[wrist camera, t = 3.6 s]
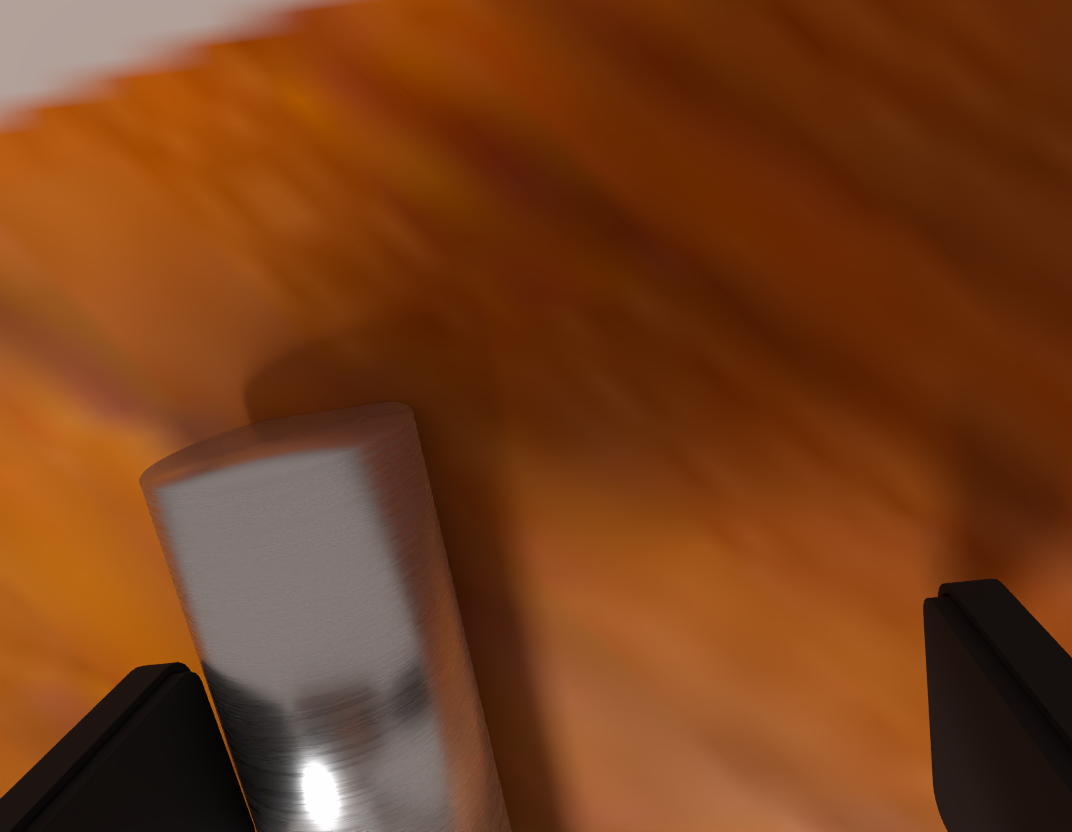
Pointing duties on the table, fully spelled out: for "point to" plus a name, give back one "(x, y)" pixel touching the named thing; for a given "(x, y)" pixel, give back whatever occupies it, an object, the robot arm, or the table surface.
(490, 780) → the roller
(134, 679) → the robot arm
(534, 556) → the table surface
